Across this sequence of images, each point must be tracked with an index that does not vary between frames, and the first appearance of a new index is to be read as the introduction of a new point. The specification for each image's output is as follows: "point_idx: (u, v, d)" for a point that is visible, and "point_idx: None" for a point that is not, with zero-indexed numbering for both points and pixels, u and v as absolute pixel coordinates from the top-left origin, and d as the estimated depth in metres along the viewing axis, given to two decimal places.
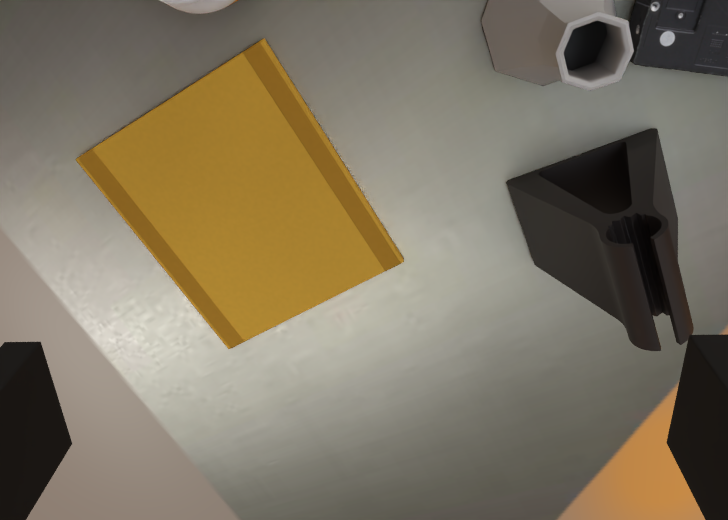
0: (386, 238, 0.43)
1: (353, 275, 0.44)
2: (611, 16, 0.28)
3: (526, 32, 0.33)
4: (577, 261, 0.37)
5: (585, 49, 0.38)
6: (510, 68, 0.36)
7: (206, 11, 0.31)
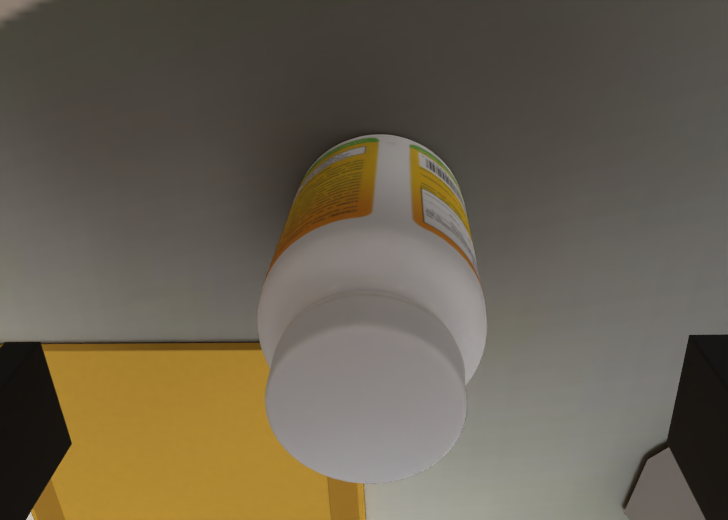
0: None
1: None
2: None
3: None
4: None
5: None
6: None
7: None
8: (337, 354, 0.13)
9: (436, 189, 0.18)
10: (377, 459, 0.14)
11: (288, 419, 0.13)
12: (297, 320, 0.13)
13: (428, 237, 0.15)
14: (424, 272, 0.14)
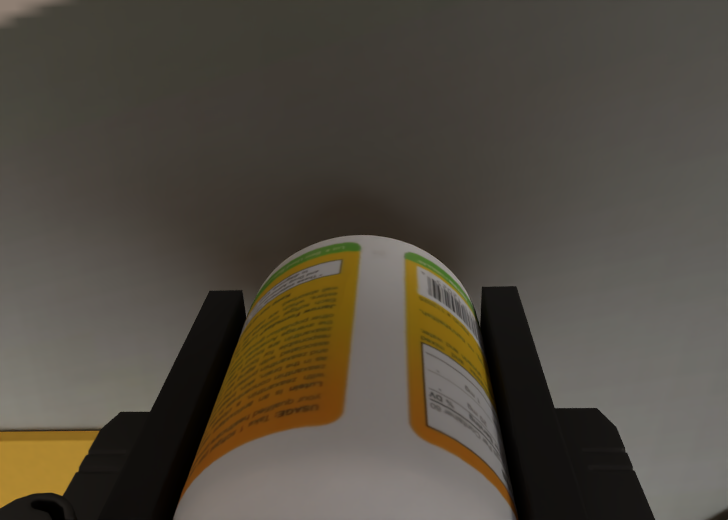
0: None
1: None
2: None
3: None
4: None
5: None
6: None
7: None
8: None
9: (444, 338, 0.12)
10: None
11: None
12: None
13: (435, 463, 0.09)
14: None
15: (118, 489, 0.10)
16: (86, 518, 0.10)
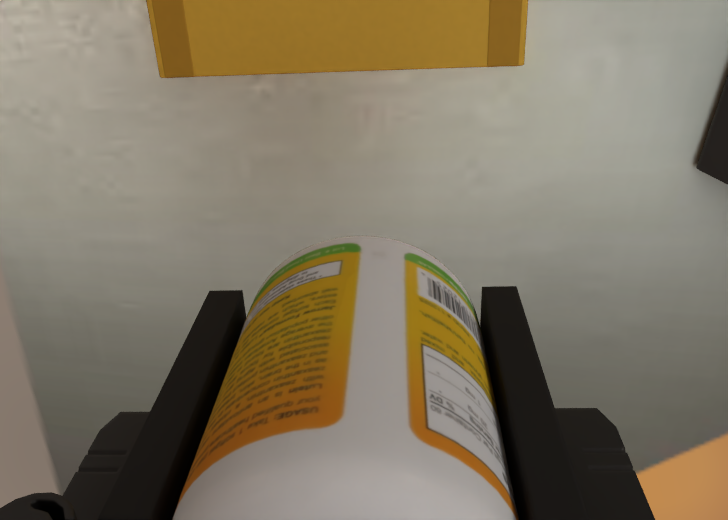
0: (524, 10, 0.25)
1: (435, 48, 0.25)
2: None
3: None
4: None
5: None
6: None
7: None
8: None
9: (445, 339, 0.12)
10: None
11: None
12: None
13: (435, 466, 0.09)
14: None
15: (118, 489, 0.10)
16: (86, 518, 0.10)
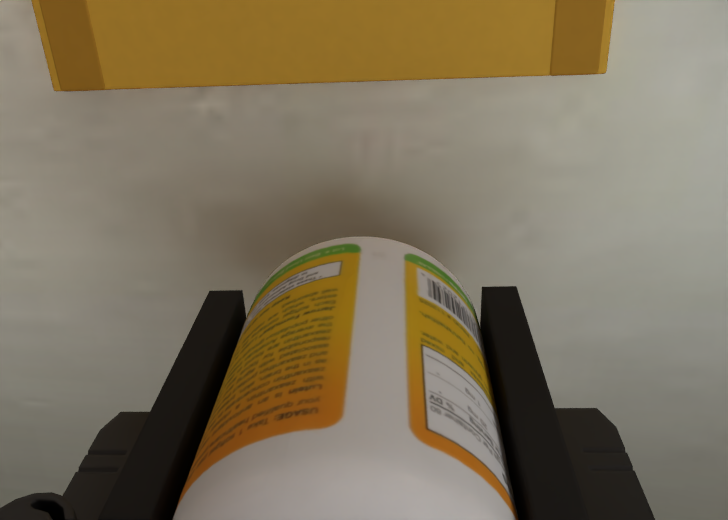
0: None
1: (471, 46, 0.17)
2: None
3: None
4: None
5: None
6: None
7: None
8: None
9: (444, 340, 0.12)
10: None
11: None
12: None
13: (435, 467, 0.09)
14: None
15: (118, 489, 0.10)
16: (86, 518, 0.10)
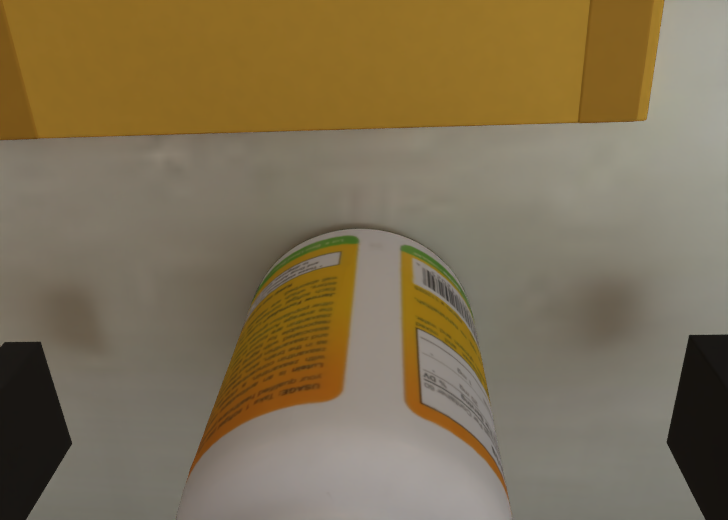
0: (656, 17, 0.13)
1: (482, 88, 0.14)
2: None
3: None
4: None
5: None
6: None
7: None
8: None
9: (438, 325, 0.13)
10: None
11: None
12: None
13: (427, 436, 0.10)
14: (422, 502, 0.09)
15: None
16: None
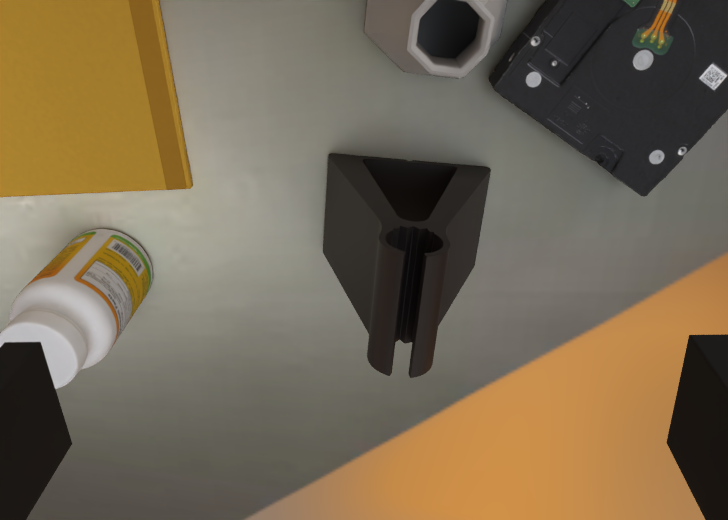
0: (182, 155, 0.38)
1: (130, 178, 0.38)
2: (481, 4, 0.25)
3: None
4: (356, 258, 0.34)
5: (458, 55, 0.35)
6: (376, 32, 0.33)
7: None
8: (18, 334, 0.32)
9: (107, 260, 0.37)
10: None
11: None
12: (10, 321, 0.33)
13: (76, 285, 0.34)
14: (70, 301, 0.34)
15: None
16: None
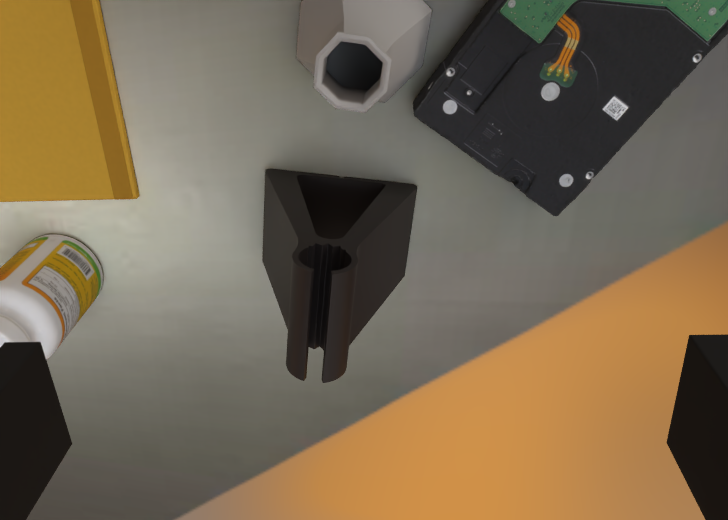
0: (128, 167, 0.40)
1: (80, 188, 0.41)
2: (378, 47, 0.27)
3: (321, 30, 0.32)
4: (283, 269, 0.36)
5: None
6: (304, 60, 0.35)
7: None
8: None
9: (56, 265, 0.40)
10: None
11: None
12: None
13: (23, 289, 0.37)
14: (16, 304, 0.36)
15: None
16: None
